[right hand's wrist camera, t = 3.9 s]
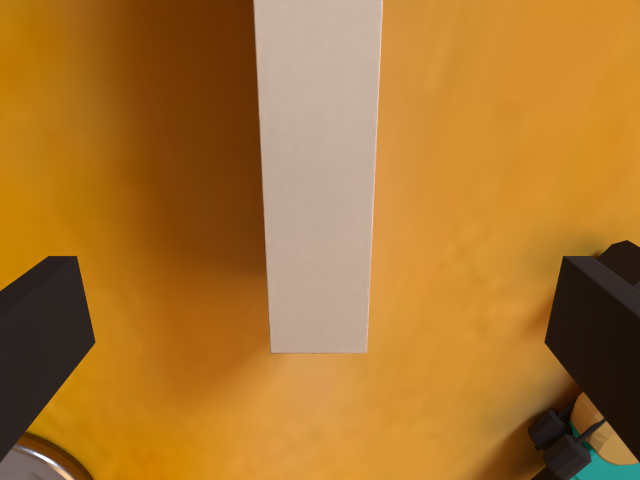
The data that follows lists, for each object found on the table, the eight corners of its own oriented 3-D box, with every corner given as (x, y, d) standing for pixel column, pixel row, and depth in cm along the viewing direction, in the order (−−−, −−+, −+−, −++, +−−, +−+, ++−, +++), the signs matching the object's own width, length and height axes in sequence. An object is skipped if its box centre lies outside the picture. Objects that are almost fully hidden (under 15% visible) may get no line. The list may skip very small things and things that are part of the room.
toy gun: (414, 498, 31) (567, 580, 34) (735, 199, 23) (892, 341, 27) (402, 446, 35) (540, 523, 38) (671, 178, 27) (814, 304, 31)
